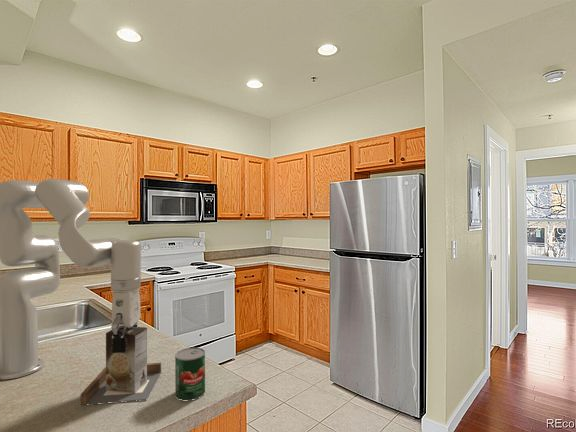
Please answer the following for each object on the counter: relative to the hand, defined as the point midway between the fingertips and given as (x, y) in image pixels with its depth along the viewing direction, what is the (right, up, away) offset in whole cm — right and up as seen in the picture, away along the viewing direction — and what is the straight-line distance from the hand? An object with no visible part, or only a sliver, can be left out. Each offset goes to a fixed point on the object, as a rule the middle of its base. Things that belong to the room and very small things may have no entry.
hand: (125, 345), depth 94 cm
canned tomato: (+19, -12, -3) cm, 23 cm away
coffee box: (0, -12, 0) cm, 12 cm away
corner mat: (-1, -12, +1) cm, 12 cm away
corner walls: (-1, -12, +1) cm, 12 cm away
